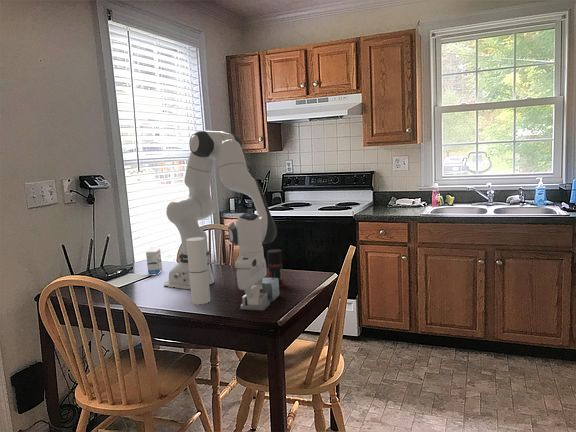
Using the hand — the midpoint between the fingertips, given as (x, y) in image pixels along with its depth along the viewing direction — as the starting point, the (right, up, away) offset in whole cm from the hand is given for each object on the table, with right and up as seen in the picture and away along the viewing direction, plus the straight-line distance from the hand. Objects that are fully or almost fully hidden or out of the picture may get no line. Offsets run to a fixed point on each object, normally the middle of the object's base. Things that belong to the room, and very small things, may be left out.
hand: (254, 294), depth 174 cm
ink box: (-54, 0, +62) cm, 82 cm away
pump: (0, -3, 0) cm, 3 cm away
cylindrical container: (-22, -5, +11) cm, 25 cm away
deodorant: (+7, -1, +26) cm, 27 cm away
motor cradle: (+2, -4, +7) cm, 8 cm away
